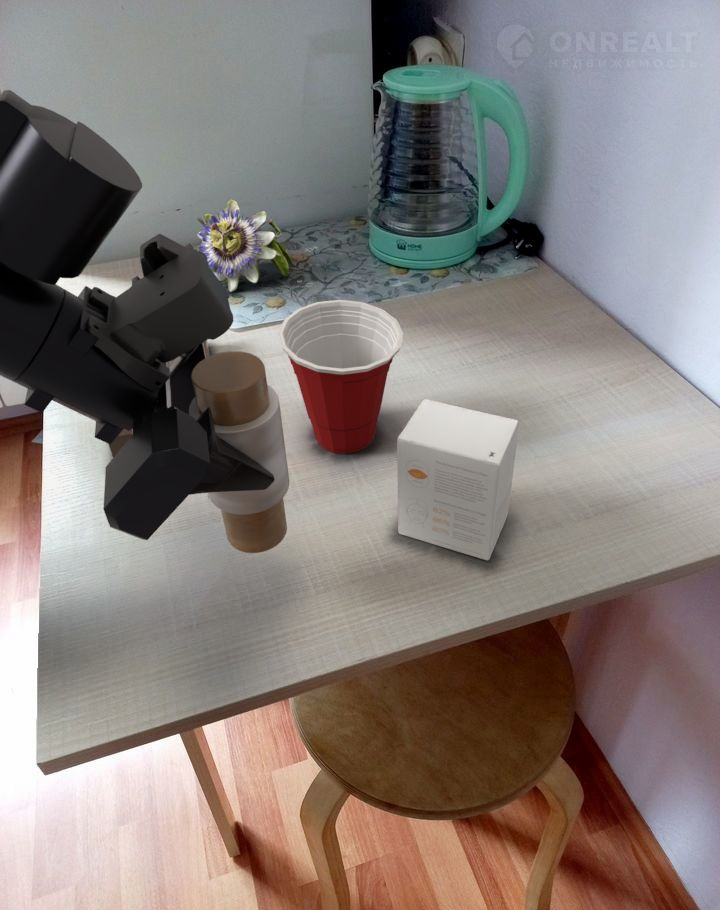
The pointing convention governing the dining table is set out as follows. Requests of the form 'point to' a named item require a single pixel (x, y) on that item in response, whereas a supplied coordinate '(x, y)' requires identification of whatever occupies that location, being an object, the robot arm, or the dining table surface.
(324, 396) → the plastic cup
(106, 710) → the dining table surface
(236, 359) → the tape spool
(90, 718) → the dining table surface
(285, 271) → the passion flower
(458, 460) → the small box
